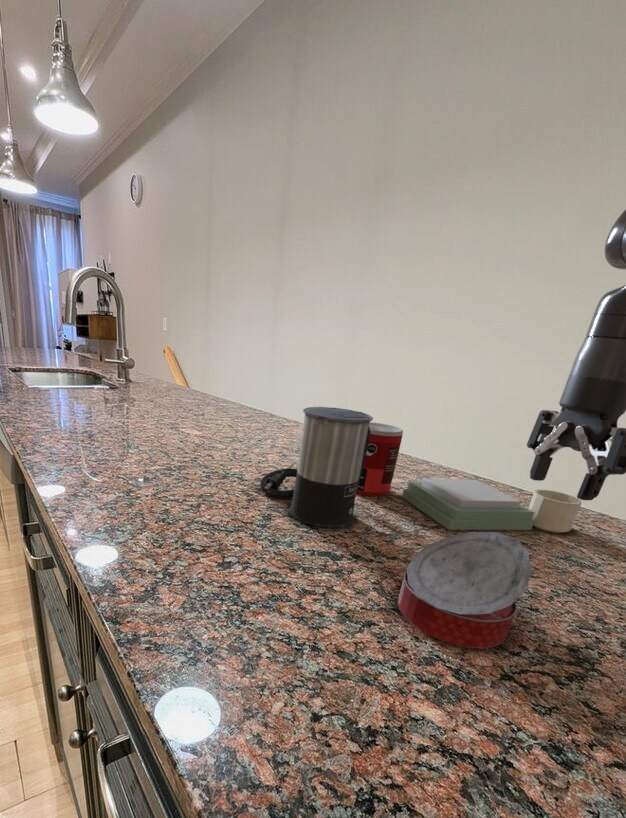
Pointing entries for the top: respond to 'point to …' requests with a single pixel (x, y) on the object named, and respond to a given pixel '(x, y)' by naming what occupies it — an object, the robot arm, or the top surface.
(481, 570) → the canned food
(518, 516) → the scale
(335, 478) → the milk frother
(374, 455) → the canned food
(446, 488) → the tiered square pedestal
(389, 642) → the top surface
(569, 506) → the beige short cylinder
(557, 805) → the top surface
